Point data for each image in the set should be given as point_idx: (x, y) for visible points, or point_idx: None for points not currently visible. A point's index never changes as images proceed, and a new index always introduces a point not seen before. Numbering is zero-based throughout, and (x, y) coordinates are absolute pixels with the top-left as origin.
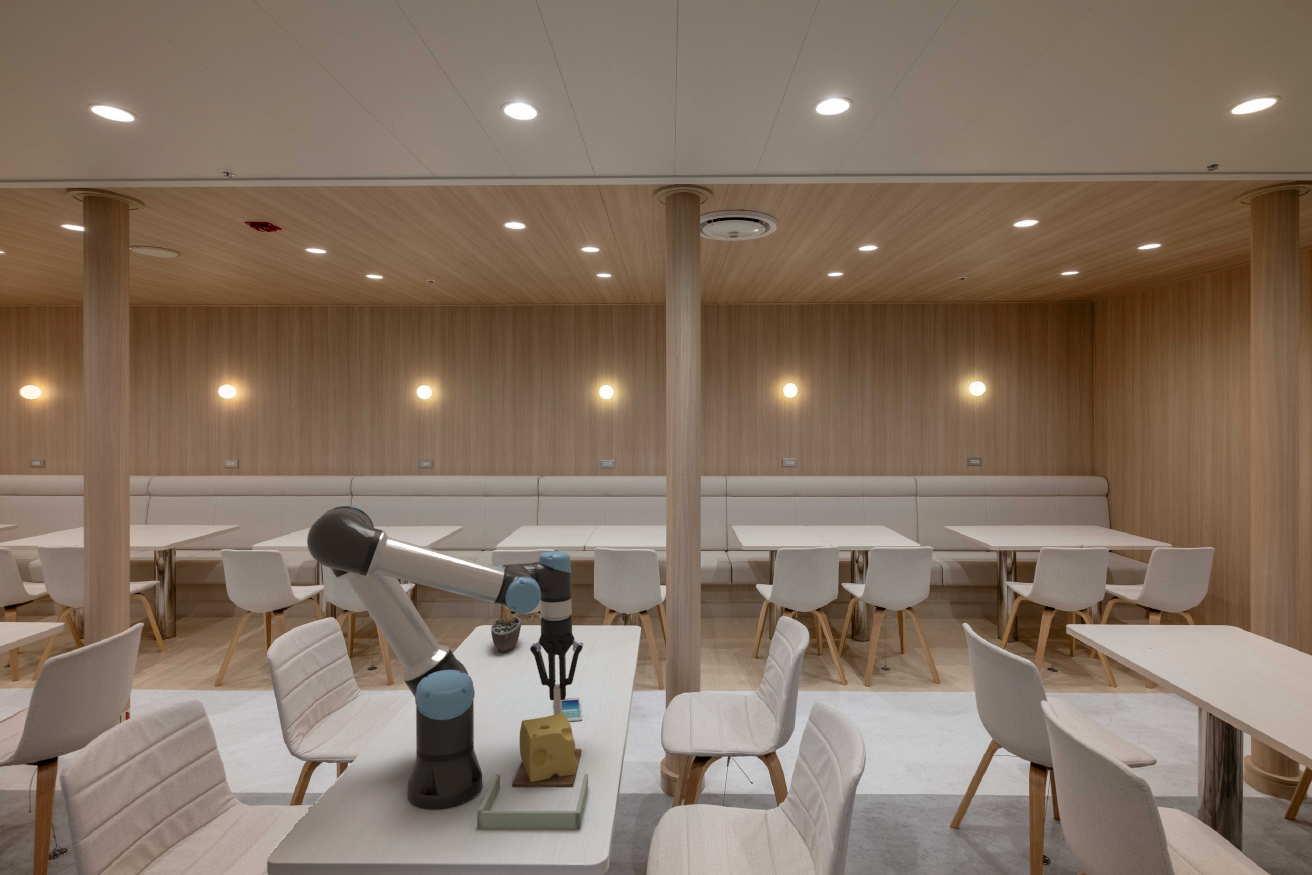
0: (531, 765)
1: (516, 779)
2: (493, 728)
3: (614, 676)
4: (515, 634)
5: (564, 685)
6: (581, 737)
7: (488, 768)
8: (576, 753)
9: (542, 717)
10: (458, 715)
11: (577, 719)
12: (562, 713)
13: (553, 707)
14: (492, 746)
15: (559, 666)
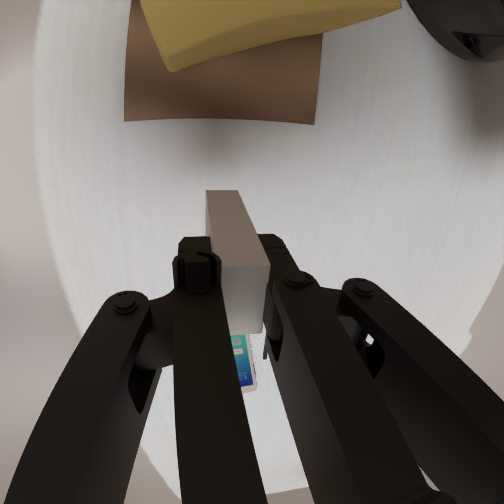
0: None
1: None
2: (391, 263)
3: (157, 446)
4: None
5: (174, 280)
6: (143, 216)
7: (399, 45)
8: (138, 87)
9: (302, 7)
10: None
11: None
12: (171, 39)
13: (253, 365)
14: (399, 167)
15: (253, 455)
